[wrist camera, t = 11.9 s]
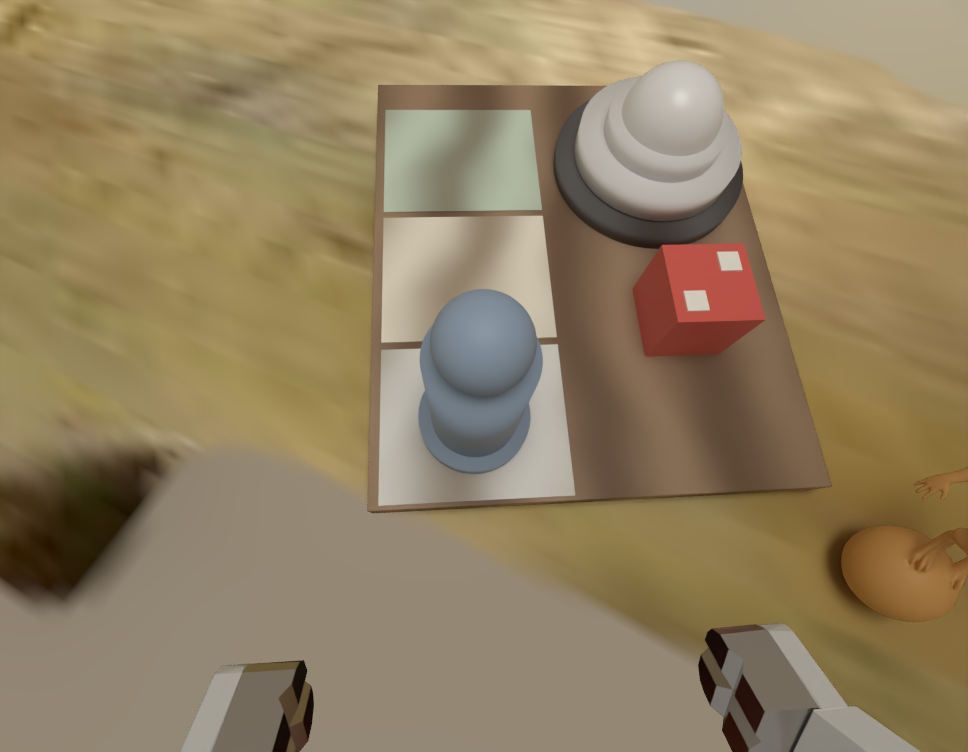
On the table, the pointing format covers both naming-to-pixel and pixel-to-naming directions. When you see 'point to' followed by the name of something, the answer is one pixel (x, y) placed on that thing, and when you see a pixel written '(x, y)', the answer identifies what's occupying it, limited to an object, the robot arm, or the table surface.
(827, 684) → the robot arm
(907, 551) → the figurine
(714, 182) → the dome
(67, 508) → the table surface
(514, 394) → the pawn
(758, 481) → the game board
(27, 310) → the table surface
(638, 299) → the red die
